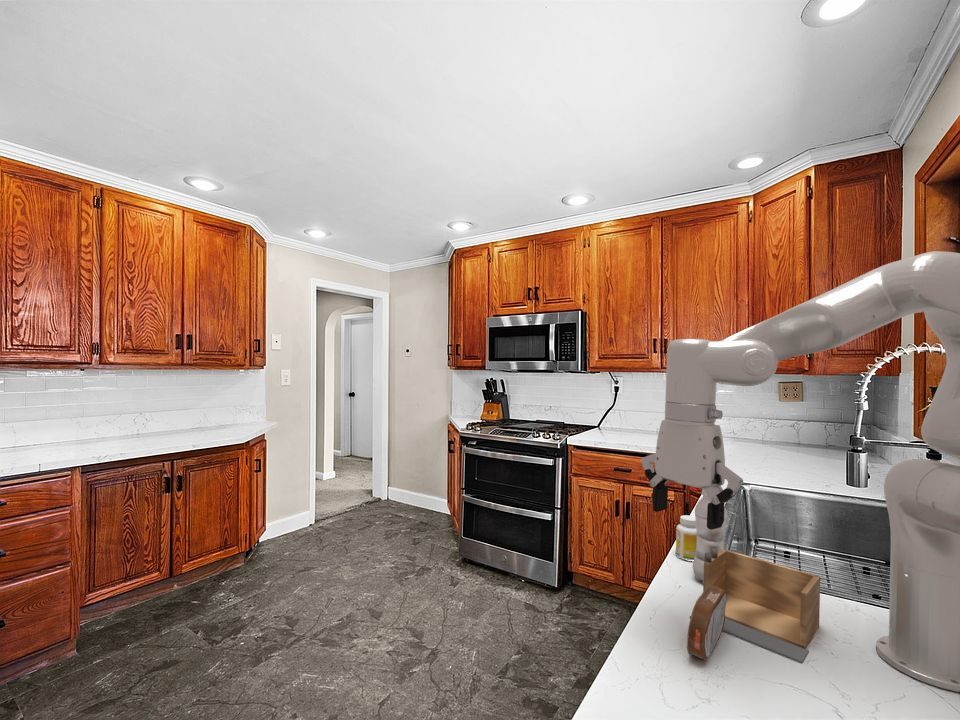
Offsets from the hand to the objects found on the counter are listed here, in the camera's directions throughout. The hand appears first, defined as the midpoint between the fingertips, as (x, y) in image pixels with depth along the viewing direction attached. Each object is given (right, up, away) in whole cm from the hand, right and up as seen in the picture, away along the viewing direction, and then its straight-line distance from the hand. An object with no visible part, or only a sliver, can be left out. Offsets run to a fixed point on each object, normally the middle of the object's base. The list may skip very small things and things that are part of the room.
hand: (685, 518), depth 76 cm
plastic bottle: (+15, -21, +23) cm, 35 cm away
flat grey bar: (+11, -21, +3) cm, 24 cm away
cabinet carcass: (+17, -21, +8) cm, 28 cm away
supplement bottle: (+16, -22, +35) cm, 44 cm away
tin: (+3, -21, -1) cm, 21 cm away
